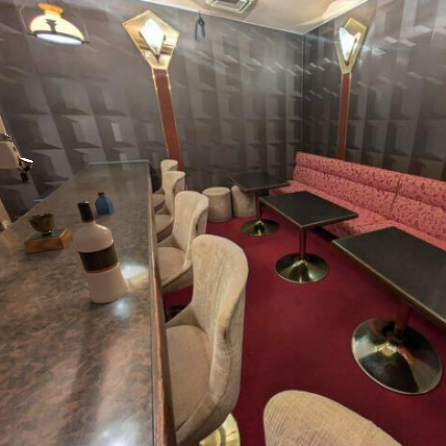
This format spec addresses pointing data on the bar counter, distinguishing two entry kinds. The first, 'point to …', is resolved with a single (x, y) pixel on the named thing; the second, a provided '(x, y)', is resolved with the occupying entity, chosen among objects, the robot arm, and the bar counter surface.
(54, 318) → the bar counter surface
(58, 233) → the riser
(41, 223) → the cup
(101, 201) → the perfume bottle
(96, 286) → the vodka
